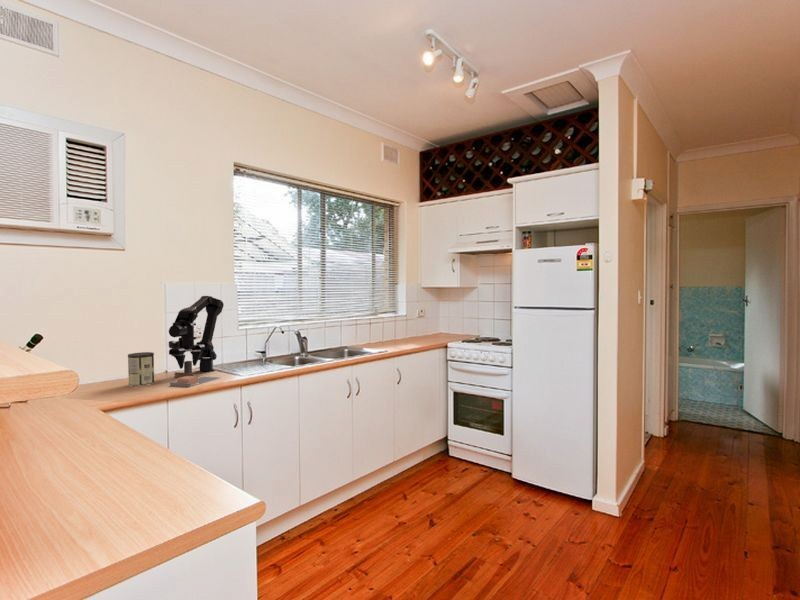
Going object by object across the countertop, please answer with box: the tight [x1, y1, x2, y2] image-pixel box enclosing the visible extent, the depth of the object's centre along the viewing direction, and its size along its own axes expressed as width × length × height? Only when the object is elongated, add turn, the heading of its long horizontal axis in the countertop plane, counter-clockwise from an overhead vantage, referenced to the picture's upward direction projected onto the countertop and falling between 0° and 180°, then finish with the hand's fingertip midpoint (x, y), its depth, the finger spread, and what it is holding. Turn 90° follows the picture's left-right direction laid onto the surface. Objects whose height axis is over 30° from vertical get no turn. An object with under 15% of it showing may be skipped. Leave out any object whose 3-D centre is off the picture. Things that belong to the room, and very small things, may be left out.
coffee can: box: [127, 351, 155, 388], centre depth 203 cm, size 10×10×14 cm
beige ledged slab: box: [174, 360, 201, 378], centre depth 220 cm, size 6×10×8 cm, turn 75°
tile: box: [176, 376, 199, 385], centre depth 202 cm, size 6×6×3 cm
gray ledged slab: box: [169, 376, 220, 388], centre depth 207 cm, size 22×10×2 cm, turn 165°
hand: (187, 367), depth 220 cm, fingers open, 9 cm apart
